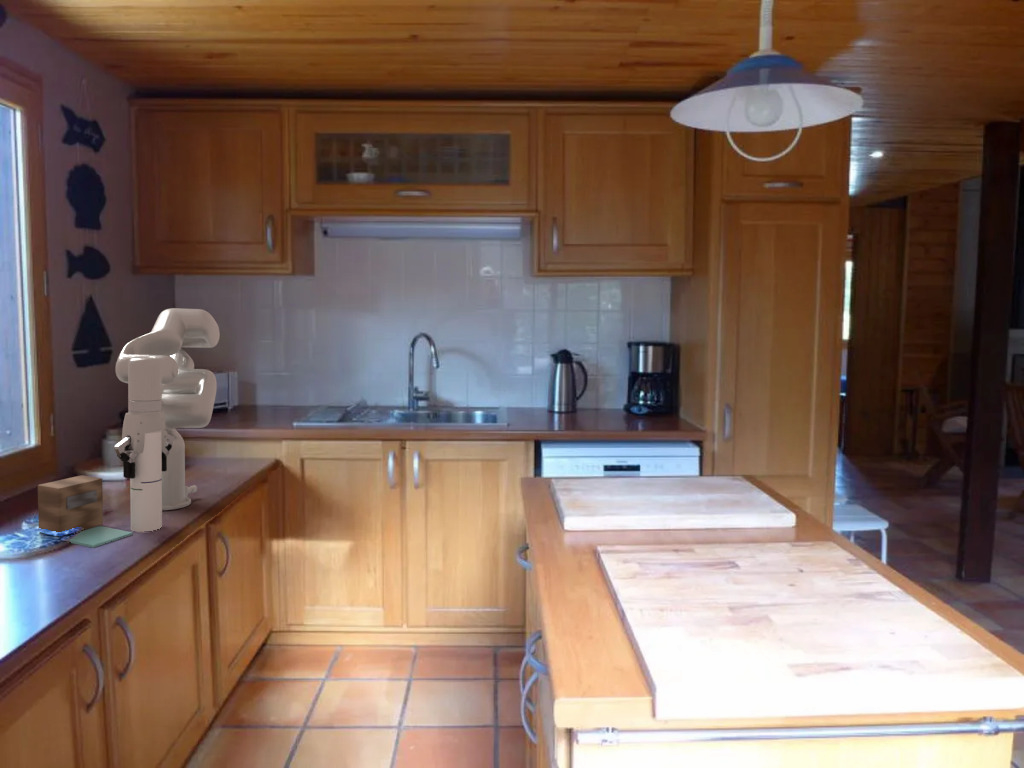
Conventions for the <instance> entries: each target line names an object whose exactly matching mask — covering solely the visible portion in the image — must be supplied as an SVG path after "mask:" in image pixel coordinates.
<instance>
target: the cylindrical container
mask: <svg viewBox="0 0 1024 768" xmlns="http://www.w3.org/2000/svg"><path fill="white" fill-rule="evenodd" d="M132 450H133V448H132ZM130 455H131V454H130ZM130 455H129V456H130ZM133 462H135V478H133V479H131V478H129V483H130V484H129V486H130V487H129V491H130V492H129V494H130V496H129V497H130V498H129V499H130V500H129V501H130V503H129V504H130V531H131V530H132V531H131V532H133V531H137V532H136V533H145V532H144V531H152V532H154V531H153V530H156V531H158V530H157V529H159V530H160V528H161V527H162V528H163V510H162V479H161V478H162V445H161V431H157V432H151V433H145V442H144V450H143V452H142V453H140V454H137V455H136V457H135V459H134V460H133ZM162 528H161V529H162ZM141 531H142V532H141Z"/></svg>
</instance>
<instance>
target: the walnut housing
mask: <svg viewBox="0 0 1024 768" xmlns="http://www.w3.org/2000/svg"><path fill="white" fill-rule="evenodd" d="M103 505H104V503H103V478H101V477H95V476H89V475H83V474H82V475H77V476H73V477H68V478H64V479H59V480H54V481H49V482H45V483H40V484H37V506H38V508H37V509H38V510H37V511H38V514H37V515H38V519H37V520H38V529H39V528H41V529H48V530H51V531H56V532H62V531H65V530H69V529H72V528H76V527H82V528H84V529H85V530H88V529H91V528H95V527H98V526H103V525H104V517H103V516H104V515H103V514H104V513H103V512H104V511H103V510H104V508H103V507H104V506H103ZM85 530H84V531H85Z"/></svg>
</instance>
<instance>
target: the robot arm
mask: <svg viewBox="0 0 1024 768" xmlns="http://www.w3.org/2000/svg"><path fill="white" fill-rule="evenodd" d="M220 334H221V332H220V327H219V324H218V323H217V322H216V320H215V318H214V317H213V316H212V314H210V312H208V311H206V310H205V309H201V308H179V307H177V308H176V307H175V308H174V307H172V308H167V309H164V310H163V311H161V312H160V314H159V315H158V316H157V319H156V321H155V323H154V325H153V327H152V329H151V331H150V332H149V333H146V334H144V335H141V336H138V337H136V338H134V339H132V340H130V341H129V342H127V343H126V344H125V345H124V346H123V348H121V349H122V350H121V351H120V353H119V355H118V356H117V361H116V362H115V375H116V377H117V379H118V380H119V381H120V382H122V383H125V384H128V385H127V386H128V387H127V389H128V391H127V392H128V395H127V396H128V397H127V399H128V400H127V401H128V402H127V403H128V406H127V407H128V411H127V412H125V415H124V419H123V424H122V433H121V440H120V441H119V442H118V443H116V444H115V445H114V447H113V449H114V451H115V454H116V457H118V458H119V459H120V461H121V463H122V465H123V473H122V474H123V475H122V476H123V478H125V479H130V478H131V479H133V478H135V462H133V460H134V459H135V457H136V455H137V454H140V453H142V452H143V450H144V442H145V433H151V432H157V431H161V445H162V478H161V479H162V511H169V510H170V511H171V510H177V509H182V508H186V507H188V506H189V505H190V504H192V499H191V497H189V496H188V495H190V494H192V493H196V492H197V491H198V487H197V485H194V484H193V485H190V486H187V485H186V483H185V482H186V469H185V468H186V462H185V461H186V454H185V453H186V451H185V450H186V445H185V441H184V438H183V437H182V435H181V434H180V433H179V432H178V430H177V429H199V428H201V429H202V428H205V427H207V426H208V425H209V423H211V419H212V415H213V411H214V406H215V401H216V395H217V385H218V383H217V378H216V375H215V373H214V372H212V371H211V370H209V369H204V368H195V363H194V360H193V358H192V357H191V356H190V355H189V354H188V353H187V352H186V351H185V350H184V349H182V348H201V349H203V348H204V349H210V348H212V349H213V348H214V347H216V346H217V345H218V343H219V341H220V336H221V335H220ZM132 448H133V450H132ZM130 454H131V455H130Z"/></svg>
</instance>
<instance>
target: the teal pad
mask: <svg viewBox="0 0 1024 768" xmlns="http://www.w3.org/2000/svg"><path fill="white" fill-rule="evenodd" d="M79 532H80V533H79V534H78V535H76V536H75V537H73V538H72V539H70V540H69V541H70V542H71V543H70V544H74V545H79V546H83V547H89V548H93V549H94V548H97V547H100V546H103V545H105V543H106V544H109V543H112V542H115V541H118V539H119V540H121V539H120V538H122V539H124V538H123V537H125V538H127V537H126V536H128V537H130V536H129V535H131V536H133V535H134V532H133V531H127V530H122V529H117V528H111V527H108V526H103V525H100V526H96V527H93V528H89V529H86V530H83V531H79ZM132 534H133V535H132ZM111 541H112V542H111ZM108 542H109V543H108Z"/></svg>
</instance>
